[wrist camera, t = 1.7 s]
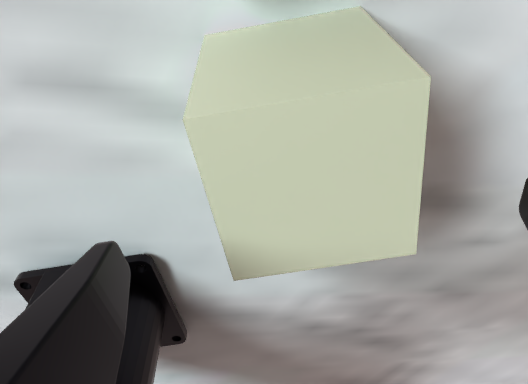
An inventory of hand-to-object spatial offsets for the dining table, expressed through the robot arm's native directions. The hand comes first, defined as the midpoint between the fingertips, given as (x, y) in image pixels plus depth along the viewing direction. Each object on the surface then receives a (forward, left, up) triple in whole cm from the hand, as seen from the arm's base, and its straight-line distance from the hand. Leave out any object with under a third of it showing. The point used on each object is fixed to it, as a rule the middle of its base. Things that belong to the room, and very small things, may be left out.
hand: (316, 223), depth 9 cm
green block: (0, 0, -7) cm, 7 cm away
